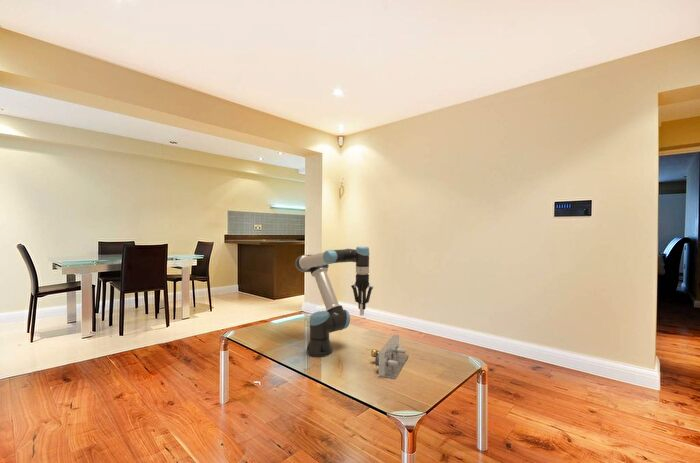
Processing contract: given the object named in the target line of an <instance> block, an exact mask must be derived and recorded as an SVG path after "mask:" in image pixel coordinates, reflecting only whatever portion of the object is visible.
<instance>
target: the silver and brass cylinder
mask: <svg viewBox="0 0 700 463" xmlns="http://www.w3.org/2000/svg"><path fill="white" fill-rule="evenodd" d="M379 351H380V350H379ZM379 351H378V349H375V348H374V349H371V351H370V352H371V353H370V354H371V355H370V356H371V358H376V356H379Z"/></svg>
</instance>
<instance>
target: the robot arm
mask: <svg viewBox="0 0 700 463" xmlns="http://www.w3.org/2000/svg"><path fill="white" fill-rule="evenodd" d="M355 248H356V249H353V248H345V249H327V250H325V251H322V252H319V253H315V254H314V253H313V254H301V255H299V256H298V257H297V258H296V259H295V268H296V269H297V271H300V272H302V273H310V274H311V277H313V278H315V283H316V285H317V288H318V290H319V293H320V295H321V299H322V302H323V304H324V306H325V310H322V311H320V310H319V311H317V312H316V311H315V312H313V313H312V314H311V315H310V316H309V322H308V323H309V341H308V344H307V348H306V354H307V353H308V354H309V355H308V354H307V355H308V356H310V355H312V356H311V357H314V356H323V357H327V356H329V354H330V355H331V354H332V353H333V347H332V344H331V340H330V334H331V333H334V332H337V331H339V332H340V331H342V330H346V329H347V328H349V326H350V324H351V316H350V312H349V311H348V310H347V309H344V307H343V305H341V304H339V301H338V299H337V296H336V293H335V290H334V288H333V286H332V283H331V280H330V278H329V275H328V270H329V267H330V266H329V265H331V264H332V265H333V264H338V263H339V264H340V263H355V273H356V274H355V282H354V284H352V285H351V289H352V292H353V296H354V297H353V298H354V301H355V302H356V303H357V304H358V310H359V316H362V317H363V316H364V315H365V310H366V305H367V304H368V303H369V302H370V298H371V294H372V291H373V289H374V286H372V285H371V284H370V274H369V273H370V248H369V246H361V245H360V246H356V247H355ZM367 289H368V290H367ZM326 355H327V356H326Z"/></svg>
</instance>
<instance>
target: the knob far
mask: <svg viewBox="0 0 700 463" xmlns="http://www.w3.org/2000/svg"><path fill="white" fill-rule="evenodd" d="M406 352H407V349H406V348H400V347H399V348H396V353H399V354H404V355H406Z"/></svg>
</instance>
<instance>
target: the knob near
mask: <svg viewBox="0 0 700 463" xmlns="http://www.w3.org/2000/svg"><path fill="white" fill-rule="evenodd" d="M374 363H375V367H379V356H376V357H375V359H374ZM387 365H390V366H396V367H397V366H398V361H393V360H387Z"/></svg>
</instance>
